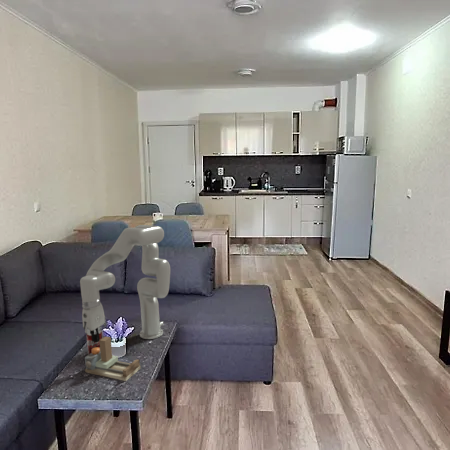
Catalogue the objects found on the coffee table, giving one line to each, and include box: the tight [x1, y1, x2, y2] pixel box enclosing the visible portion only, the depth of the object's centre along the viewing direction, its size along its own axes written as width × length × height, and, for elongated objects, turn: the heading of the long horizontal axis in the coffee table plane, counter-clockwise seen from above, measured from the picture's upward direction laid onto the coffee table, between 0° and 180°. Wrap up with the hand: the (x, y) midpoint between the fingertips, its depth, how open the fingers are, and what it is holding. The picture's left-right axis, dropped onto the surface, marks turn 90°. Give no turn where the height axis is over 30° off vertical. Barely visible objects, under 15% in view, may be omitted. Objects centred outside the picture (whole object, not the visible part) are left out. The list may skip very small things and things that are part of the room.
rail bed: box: [84, 347, 141, 382], centre depth 180 cm, size 11×22×7 cm, turn 68°
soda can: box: [86, 329, 104, 355], centre depth 194 cm, size 7×7×12 cm
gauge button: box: [91, 347, 100, 354], centre depth 183 cm, size 4×4×5 cm
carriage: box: [96, 336, 119, 369], centre depth 180 cm, size 8×6×12 cm
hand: (95, 340), depth 183 cm, fingers closed
